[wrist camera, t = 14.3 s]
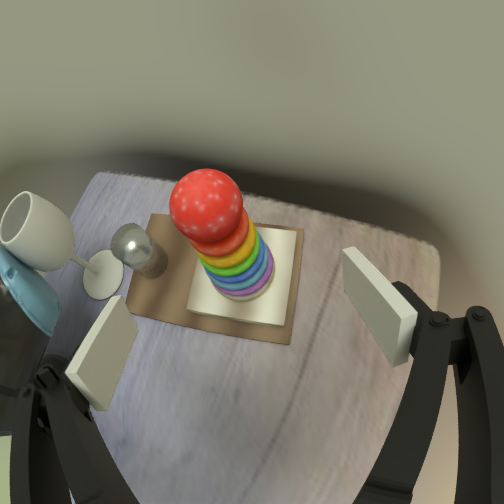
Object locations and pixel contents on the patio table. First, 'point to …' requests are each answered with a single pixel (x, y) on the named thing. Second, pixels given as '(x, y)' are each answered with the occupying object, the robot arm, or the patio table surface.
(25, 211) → the wineglass
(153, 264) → the grey brown short cylinder
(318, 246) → the patio table surface
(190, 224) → the stacking toy
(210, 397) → the patio table surface
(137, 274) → the board
